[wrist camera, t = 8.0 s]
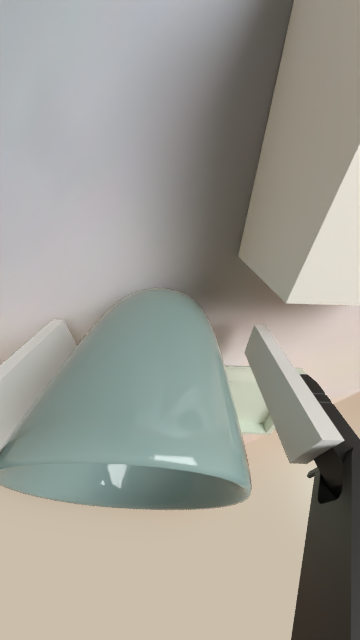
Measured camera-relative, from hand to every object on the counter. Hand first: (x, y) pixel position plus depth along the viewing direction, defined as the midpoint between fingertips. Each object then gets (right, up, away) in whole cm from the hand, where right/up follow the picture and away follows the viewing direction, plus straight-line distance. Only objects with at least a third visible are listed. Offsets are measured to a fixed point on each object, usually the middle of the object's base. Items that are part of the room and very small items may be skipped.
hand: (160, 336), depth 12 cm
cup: (0, +1, +2) cm, 2 cm away
